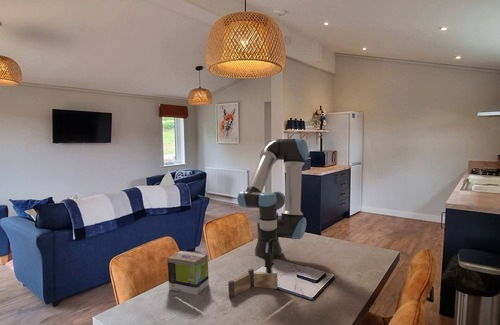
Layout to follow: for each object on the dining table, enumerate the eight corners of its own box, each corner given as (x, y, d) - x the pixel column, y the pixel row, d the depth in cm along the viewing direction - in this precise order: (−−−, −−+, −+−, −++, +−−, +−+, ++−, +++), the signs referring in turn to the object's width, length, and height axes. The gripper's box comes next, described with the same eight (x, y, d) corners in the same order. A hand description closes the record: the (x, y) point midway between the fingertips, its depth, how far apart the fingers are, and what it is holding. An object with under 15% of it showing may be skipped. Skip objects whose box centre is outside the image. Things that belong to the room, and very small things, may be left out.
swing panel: (248, 286, 134) (247, 271, 134) (249, 283, 137) (248, 268, 136) (276, 289, 131) (276, 273, 131) (277, 286, 134) (277, 270, 133)
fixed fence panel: (227, 298, 126) (227, 282, 126) (247, 287, 135) (246, 272, 134) (231, 300, 125) (231, 283, 124) (251, 289, 133) (250, 273, 133)
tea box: (209, 285, 138) (208, 253, 136) (196, 296, 129) (195, 262, 127) (182, 280, 144) (180, 249, 143) (168, 290, 135) (166, 257, 134)
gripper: (262, 223, 141) (263, 273, 143) (257, 232, 128) (258, 286, 131) (278, 224, 139) (279, 274, 141) (275, 233, 127) (276, 287, 129)
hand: (269, 280), depth 136 cm, fingers closed
